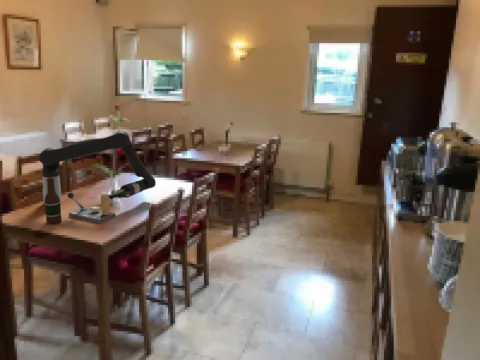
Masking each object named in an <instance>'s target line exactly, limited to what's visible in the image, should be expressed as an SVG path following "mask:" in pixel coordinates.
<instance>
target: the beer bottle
mask: <svg viewBox="0 0 480 360" xmlns="http://www.w3.org/2000/svg"><path fill="white" fill-rule="evenodd" d="M44 211H45V219H46V224H47V225H58V224H61V223H62V210H61V204H60V199H59V196H58V195H57V193H56V192H55V186H54V178H47V194H46V196H45V204H44Z"/></svg>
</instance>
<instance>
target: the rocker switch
mask: <svg viewBox="0 0 480 360" xmlns="http://www.w3.org/2000/svg"><path fill="white" fill-rule="evenodd" d="M88 208H89V211H94V212H96V211H100V210H101V207H100V206H99V207H98V206H91V207H88Z"/></svg>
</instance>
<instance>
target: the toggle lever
mask: <svg viewBox="0 0 480 360" xmlns="http://www.w3.org/2000/svg"><path fill="white" fill-rule="evenodd" d="M67 198H68V199H71V200H72V201H73V202H74V203H75V204H76V205H77V206H78V207H79V209H83V208H84V207H85V206H83V204H81V201H79V200H78V199H77V198H76V197H75V194H74V193H73V192H68V193H67Z"/></svg>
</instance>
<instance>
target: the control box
mask: <svg viewBox="0 0 480 360" xmlns="http://www.w3.org/2000/svg"><path fill="white" fill-rule="evenodd" d="M83 207H84V208H83V209H81V208H78V209H76V210H73V211H70V212H69V213H68V217H70V218H73V219H78V220H84V221H88V222H92V223H96V224H102V223H104V222H106V221H109V220H112V219H113V218H114V219H115V218H116V213H115V212H111V211H110V214H108V215H104V214H102V211H101V210H100V211H96V212H94V211H89V208H90V207H87V206H83Z"/></svg>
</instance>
